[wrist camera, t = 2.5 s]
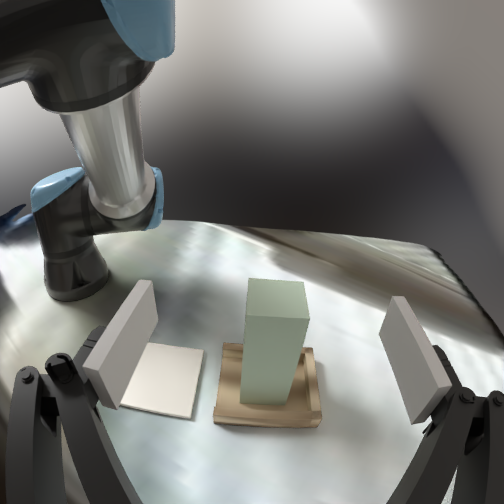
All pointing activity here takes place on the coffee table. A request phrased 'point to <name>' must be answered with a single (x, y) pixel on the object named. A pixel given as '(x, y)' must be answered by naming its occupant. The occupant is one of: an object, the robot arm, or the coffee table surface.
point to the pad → (165, 380)
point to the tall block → (272, 339)
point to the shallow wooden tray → (281, 416)
